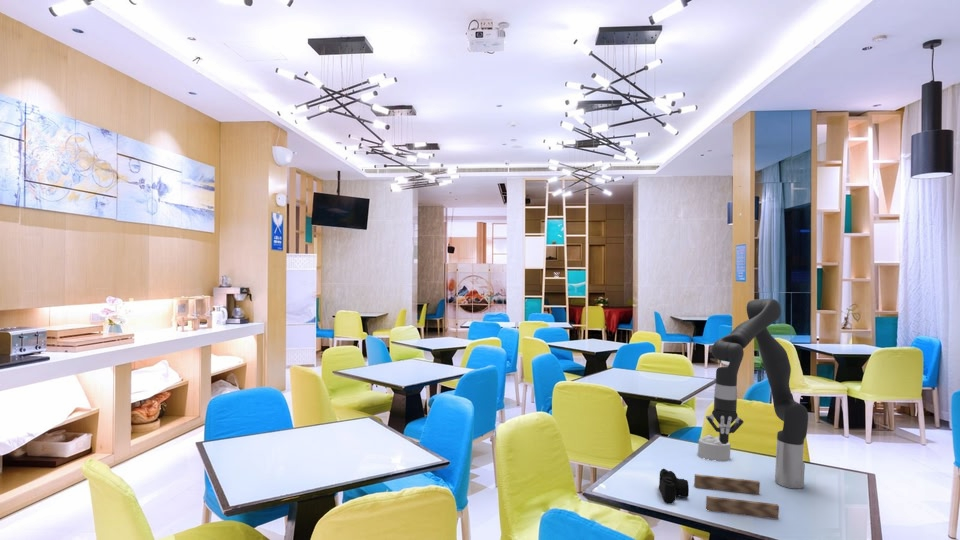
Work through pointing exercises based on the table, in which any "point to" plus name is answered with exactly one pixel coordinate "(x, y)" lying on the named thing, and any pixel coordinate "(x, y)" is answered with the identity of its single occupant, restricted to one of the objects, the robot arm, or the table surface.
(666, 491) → the film camera
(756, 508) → the walnut chute
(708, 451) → the lumpy-topped squat cylinder
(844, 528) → the table surface
